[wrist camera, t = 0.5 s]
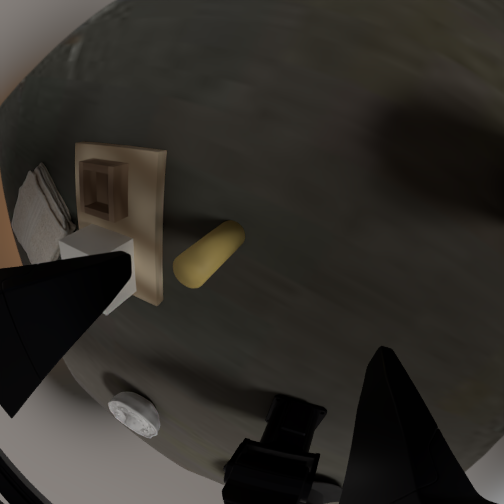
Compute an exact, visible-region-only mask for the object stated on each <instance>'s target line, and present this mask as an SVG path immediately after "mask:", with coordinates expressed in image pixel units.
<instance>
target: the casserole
mask: <svg viewBox="0 0 504 504" xmlns="http://www.w3.org/2000/svg"><path fill="white" fill-rule="evenodd" d="M342 489H343V488H341V487H339V486H337V485H334V484H332V483H327V482H320V481H313V484H312V488H311V491H310V494H309V496H308V499H307V502H306V503H304V502H299V504H325V503H330V502H339V501H340V497H341V493H342Z"/></svg>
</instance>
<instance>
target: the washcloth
mask: <svg viewBox="0 0 504 504" xmlns="http://www.w3.org/2000/svg"><path fill="white" fill-rule="evenodd" d="M11 225H12V228H13V231H14V233H15V235H16V237H17V239H18V241H19V242H20V244H21V245H22V247H23V249H24V250H25V252H26V253H27V255H28V258H29V260H30V262H31V264H39V263H44V262H50V261H56V260H57V258H58V256H59V254H60V247H59V240H60V239H62V238H64V237H66V236H68V235H70V234H72V233H73V231H74V230H75V228H76V225H75V224H73V223H72V220H71V216H70V213H69V210H68V208H67V206H66V204H65V202H64V201H63V199H62V197H61V195H60V194H59V192H58V190H57V189H56V187H55V184H54V182H53V180H52V178H51V176H50V174H49V172H48V170H47V168H46V167H45V165H44V164H43V163H40V164H39V166H37V167H36V168H35V170H34V171H33V172H32V171H29V172H28V174H27V177H26V179H25V182H24V183H23V185H22V186H21V187H20V188H19V195H18V199H17V203H16V205H15V209H14V215H13V219H12V223H11Z"/></svg>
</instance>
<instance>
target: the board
mask: <svg viewBox="0 0 504 504" xmlns="http://www.w3.org/2000/svg"><path fill="white" fill-rule="evenodd" d="M166 155H167V150H159V149H152V148H144V147H136V146H127V145H118V144H107V143H96V142H78V143H75V180H76V201H77V214H78V225H79V230H80V229H82V228H84V227H86V226H88V225H90V224H95V225H98V226H100V227H103V228H106V229H109V230H111V231H114V232H117V233H119V234H122V235H125V236H128V237H131V238H133V246H134V265H135V279H136V292H135V293H134V294H132V295H134V296H136V297H138V298H140V299H143V300H145V301H147V302H149V303H151V304H153V305H156V306H158V305H159V304H160V303H161V302H162V301H163V275H162V239H163V204H164V184H165V168H166Z"/></svg>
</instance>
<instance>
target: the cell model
mask: <svg viewBox="0 0 504 504" xmlns="http://www.w3.org/2000/svg"><path fill="white" fill-rule="evenodd" d="M108 406H109V409H110V411H111V412H112V413H113V415H114V416H115V418H116V419H118V420H119V421H120V422H122V423H123V424H124V425H125V426H127V427H129V428H130V429H131V430H133V431H135V432H136V433H138V434H140V435H142V436H144V437H147V438H152V436H156V435H157V433H158V430H159V428H160V419H159V414H158V411H157V410H156V408H155V406H154V405H153V404H152V403H151V402H150V401H149V400H147V399H146V398H144V397H142V396H140V395H138V394H137V393H134V392H120V393H118V394H117V395H115V396H114V397H113V398H112V399H111V400H110V401H109V403H108Z"/></svg>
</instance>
